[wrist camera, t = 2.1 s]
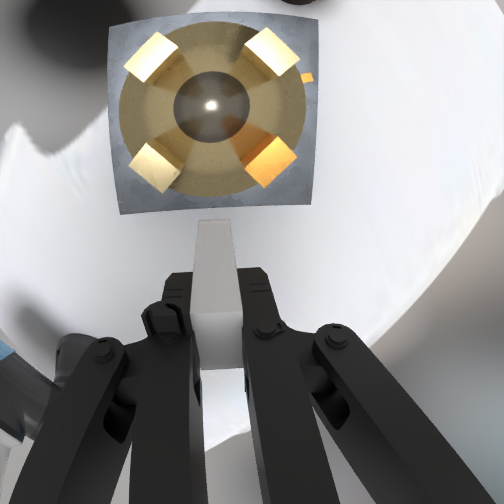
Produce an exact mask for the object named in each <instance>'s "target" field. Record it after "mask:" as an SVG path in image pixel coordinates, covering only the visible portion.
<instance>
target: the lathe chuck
mask: <svg viewBox="0 0 504 504" xmlns="http://www.w3.org/2000/svg"><path fill="white" fill-rule="evenodd" d="M299 60H300V58H299V57H298V56H297V55H296V54H295V53H294V52H293V51H292V50H291V49H290V48H289V47H288V46H287V45H286V44H285V43H284V42H283V41H282V40H280V39H279V38H278V37H277V36H276V35H275V34H274V33H273V32H272V31H271V30H270V29H268V28H267V27H266V28H265V29H264V30H262V31H261V32H260V31H257V30H255V29H253V28H251V27H248V26H244V25H241V24H237V23H231V22H223V21H209V22H200V23H195V24H191V25H187V26H184V27H181V28H179V29H176V30H174V31H172V32H170V33H168V34H166V35H164V36H163V35H162V34H160V33H159V32H156V33H155V34H154V35H153V36H152V37H151V38H150V39H149V40H148V41H147V42H146V43H145V44H144V45H143V46H142V47H141V48H140V49H139V50H138V51H137V52H136V53H135V54H134V55H133V56H132V57H131V58H130V60H129V61H128V62H127V63H126V64H125V65H124V66H123V67H125V68H126V69H127V70H129V73H128V75H127V77H126V80H125V82H124V85H123V88H122V91H121V95H120V101H119V124H120V130H121V134H122V137H123V140H124V143H125V145H126V147H127V150H128V151H129V153H130V155H131V156H132V158H133V160H132V161H131V163H130V164H129V165H128V166H129V167H131V168H132V169H133V170H134V171H135V172H137V173H138V174H139V175H140V176H142V177H143V178H144V179H145V180H146V181H148V182H149V183H150V184H151V185H153V186H154V187H155V188H156V189H157V190H159V191H160V192H161V193H162V194H163V193H164V191H165V190H166V189H167V188H169V189H171V190H174V191H177V192H179V193H183V194H187V195H192V196H200V197H217V196H226V195H230V194H235V193H238V192H241V191H244V190H247V189H249V188H251V187H253V186H255V185H257V184H260V185H261V186H262V187H263V188H265V187H266V186H267V185H268V184H269V183H270V182H271V181H273V180H274V179H275V178H276V177H277V176H278V175H279V174H280V173H281V172H282V171H283V170H284V169H285V168H286V167H287V166H288V165H290V164H291V163H292V162H293V161H294V160H295V159H296V158H297V156H296V155H295V154H294V153H293V150H294V148H295V147H296V145H297V143H298V141H299V138H300V136H301V133H302V131H303V127H304V122H305V116H306V95H305V89H304V85H303V82H302V79H301V76H300V73H299V71H298V69H297V67H296V65H295V63H296V62H297V61H299Z"/></svg>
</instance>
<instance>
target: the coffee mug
mask: <svg viewBox="0 0 504 504" xmlns="http://www.w3.org/2000/svg"><path fill="white" fill-rule="evenodd" d="M282 1H284V2H286V3H289V4H294V5H305V4H309V3H311V2H313V1H315V0H282Z"/></svg>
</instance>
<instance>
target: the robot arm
mask: <svg viewBox="0 0 504 504" xmlns="http://www.w3.org/2000/svg"><path fill="white" fill-rule="evenodd" d="M141 317H142V320H143V323H144V326H145V329H146V332H147V335H148V337H147V338H145V339H143V340H141V341H138V342H135V343H131V344H127V345H122V343H121V342H120V341H119V340H117V339H115V338H112V337H104V338H100V339H95V338H92V337H89V336H86V335H81V334H70V335H67V336H64V337H63V338H62V339H61V340H60V342H59V345H58V347H57V350H56V366H55V379H54V382H52V381H51V380H49V379H48V378H47V377H45V376H44V375H43V374H41V373H40V372H39V371H37V370H36V369H35V368H34V367H32V366H31V365H30V364H29V363H28V362H26V361H25V360H24V359H23V358H21V357H20V356H19V355H18V354H17V353H16V352H15V350H14V349H11V348H10V347H9V346H8V345H6V344H5V343H4V342H3V341H2V340H1V339H0V496H1V490H2V484H3V479H4V474H5V470H6V465H7V461H8V457H9V453H10V450H11V448H12V447H14V446H18V445H22V443H23V440H24V436H27V437H29V438H30V439H32V440H34V443H33V446H32V448H31V450H30V452H29V454H28V457H27V459H26V461H25V463H24V466H23V468H22V470H21V473H20V475H19V477H18V480H17V482H16V485H15V488H14V490H13V493H12V496H11V499H10V501H9V504H110V503H111V500H112V497H113V494H114V491H115V488H116V485H117V482H118V479H119V476H120V473H121V471H122V468H123V465H124V462H125V459H126V457H127V454H128V451H129V448H130V446H131V443H132V452H131V466H130V485H129V504H208V496H207V483H206V469H205V454H204V434H203V408H202V382H201V378H200V368H201V370H214V369H231V368H244V377H245V392H246V395H247V402H248V410H249V417H250V424H251V431H252V437H253V444H254V451H255V457H256V464H257V470H258V476H259V482H260V488H261V494H262V500H263V504H340V501H339V498H338V494H337V491H336V487H335V484H334V480H333V477H332V473H331V470H330V466H329V463H328V459H327V456H326V452H325V449H324V446H323V442H322V439H321V435H320V432H319V428H318V425H317V421H316V418H315V415H314V412H313V408H314V410H315V411H316V413H317V415H318V416H319V418H320V419H321V421H322V423H323V424H324V426H325V427H326V429H327V430H328V432H329V433H330V435H331V436H332V438H333V440H334V441H335V443H336V444H337V446H338V447H339V449H340V450H341V452H342V454H343V455H344V457H345V458H346V460H347V461H348V463H349V464H350V466H351V467H352V469H353V470H354V472H355V473H356V475H357V476H358V478H359V479H360V481H361V482H362V484H363V485H364V487H365V488H366V490H367V491H368V493H369V494H370V496H371V497H372V498H373V500H374V501H375V503H376V504H496V503H495V502H494V501H493V499H492V498H491V497H490V495H489V494H488V493H487V491H486V490H485V489H484V487H483V486H482V485H481V483H480V482H479V481H478V479H477V478H476V477H475V476H474V474H473V473H472V472H471V470H470V469H469V468H468V467H467V465H466V464H465V463H464V462H463V460H462V459H461V458H460V457H459V455H458V454H457V453H456V451H455V450H454V449H453V448H452V447H451V445H450V444H449V443H448V442H447V441H446V439H445V438H444V437H443V435H442V434H441V433H440V432H439V431H438V429H437V428H436V427H435V426H434V424H433V423H432V422H431V421H430V420H429V418H428V417H427V416H426V415H425V414H424V412H423V411H422V410H421V409H420V408H419V406H418V405H417V404H416V403H415V402H414V401H413V399H412V398H411V397H410V396H409V395H408V393H407V392H406V391H405V390H404V389H403V387H402V386H401V385H400V384H399V383H398V382H397V380H396V379H395V378H394V377H393V376H392V375H391V373H390V372H389V371H388V370H387V369H386V368H385V367H384V366H383V364H382V363H381V362H380V361H379V360H378V358H377V357H375V355H374V354H373V353H372V352H371V350H370V349H369V348H368V347H367V346H366V345H365V344H364V342H363V341H362V340H361V339H360V338H359V337H358V336H357V335H356V333H355V332H354V331H352V330H351V329H350V328H349V327H347V326H344V325H342V324H334V323H332V324H326V325H324V326H322V327H320V328H319V329H318V330H317V332H316V333H307V332H301V331H296V330H294V329H291V328H289V327H288V326H287V325H286V324H285V322H284V321H282V320H281V318H280V316H279V313H278V309H277V306H276V303H275V299H274V296H273V293H272V289H271V286H270V283H269V279H268V276H267V274H266V273H265V272H264V271H263V270H262V269H261V268H260V267H256V268H239V269H237V268H236V261H235V254H234V247H233V239H232V232H231V224H230V219H221V220H202V221H199V224H198V233H197V241H196V250H195V260H194V270H193V272H181V273H172V274H171V275H170V276H169V277H168V278H167V280H166V281H165V286H164V291H163V295H162V299H161V301H158V302H156V303H153V304H151V305H149V306H148V307H147V308H146V309H145V310H144V311H143V313H142V315H141ZM312 407H313V408H312Z"/></svg>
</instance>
